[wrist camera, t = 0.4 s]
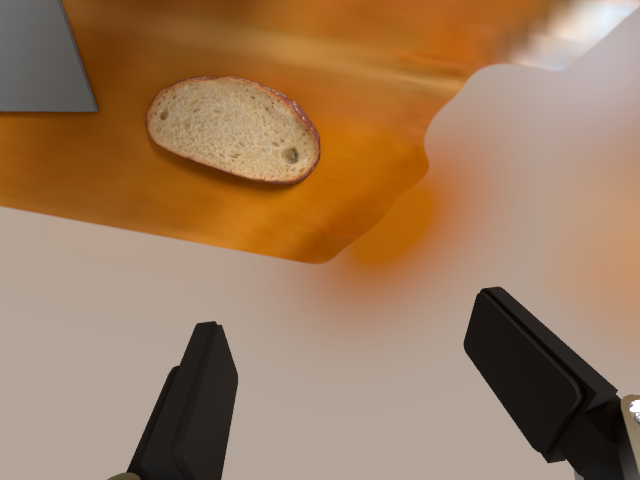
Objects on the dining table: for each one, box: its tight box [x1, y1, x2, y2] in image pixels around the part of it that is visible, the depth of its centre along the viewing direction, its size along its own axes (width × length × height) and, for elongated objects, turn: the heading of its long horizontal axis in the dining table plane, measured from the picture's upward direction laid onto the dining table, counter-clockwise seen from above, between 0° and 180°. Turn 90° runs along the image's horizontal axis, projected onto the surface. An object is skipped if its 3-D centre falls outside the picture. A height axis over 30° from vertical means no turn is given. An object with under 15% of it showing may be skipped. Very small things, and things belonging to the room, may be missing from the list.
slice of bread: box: [145, 76, 320, 184], centre depth 34 cm, size 18×18×4 cm
